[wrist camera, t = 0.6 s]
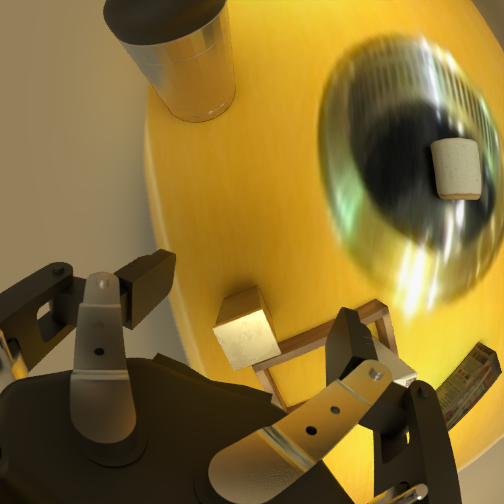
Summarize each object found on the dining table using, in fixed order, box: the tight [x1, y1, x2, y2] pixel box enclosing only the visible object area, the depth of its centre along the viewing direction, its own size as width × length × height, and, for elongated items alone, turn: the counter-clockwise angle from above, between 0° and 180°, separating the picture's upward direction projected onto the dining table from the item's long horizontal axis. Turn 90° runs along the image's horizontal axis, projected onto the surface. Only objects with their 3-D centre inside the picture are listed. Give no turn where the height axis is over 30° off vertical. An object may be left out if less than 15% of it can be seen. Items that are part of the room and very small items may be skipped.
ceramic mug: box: [431, 138, 481, 200], centre depth 28 cm, size 11×8×8 cm
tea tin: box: [212, 285, 281, 371], centre depth 29 cm, size 5×5×10 cm
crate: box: [252, 299, 399, 414], centre depth 33 cm, size 12×18×4 cm, turn 113°
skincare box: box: [372, 336, 417, 388], centre depth 28 cm, size 6×4×12 cm
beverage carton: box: [435, 342, 502, 431], centre depth 33 cm, size 8×19×7 cm, turn 133°
